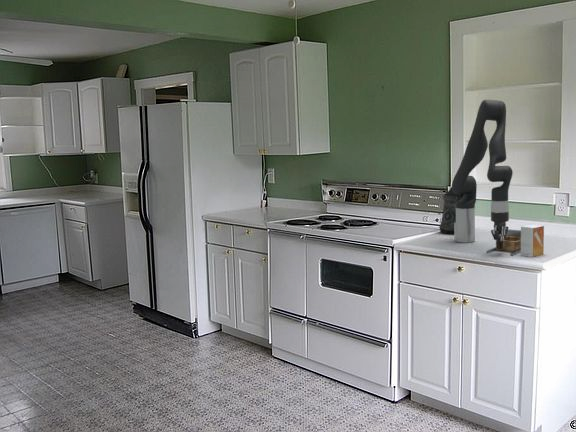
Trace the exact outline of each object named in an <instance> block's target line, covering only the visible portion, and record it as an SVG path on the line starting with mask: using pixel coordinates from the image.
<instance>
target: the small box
mask: <svg viewBox="0 0 576 432" xmlns="http://www.w3.org/2000/svg"><path fill="white" fill-rule="evenodd" d="M520 230H521V253H520V256H524V257H530V258H535V257H538V256H542V255H544V248H545V246H544V241H545V240H544V239H545V235H544V234H545V226H544V225H542V224H541V225H540V224H527V225H523V226H520Z"/></svg>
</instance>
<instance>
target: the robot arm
mask: <svg viewBox="0 0 576 432" xmlns="http://www.w3.org/2000/svg"><path fill="white" fill-rule="evenodd" d="M487 121H492V122H493V121H495V123H496V127H495V130H494V133H493V134H492V136H491V138H490V140H489V142H488V139H487V136H486V133H485V124H486V122H487ZM506 121H507V106H506V103H505V102H504V101H503V100H497V99H484V100H482V101H481V103H480V105H479V107H478V110H477V114H476V118H475V122H474V125H473V129H472V132H471V135H470V137H469V139H468V142H467V145H466V148H465V151H464V154H463V156H462V159H461V162H460V164H459V167H458V169H457V171H456V172H455V173H456V174H455V175H454V177H453V180H452V184H451V188H452V191H453V193H454V194H456V195H464V196H463V198H462V199H461V200H459V201H458V202H456V222H455V223H454V235H453V236H454V238H453V239H454V242H457V243H465V244H466V243H474V242H476V214H475V213H476V206H475V205H476V202H477V186H478V184H477V180H476V178H475V177H474V176H473V175H470V173H471V172H472V171H473V170H474V169H475V168H476V167H477V166H478V165H479V164H480V163H481V162H482V161H483V160H484V158H485V155H486V152H487V151H488V154H489V163H488V164H489V165H488V169H487V172H486V174H487V175H486V176H487V180H488V181H489V182H490V183H501V182H502V184H501V185H499V186H496V187H493V188H492V189H491V201H490V221H491V222H493V229H491V230H490V233H491V235H492V238H493V240H494V241H495V242H496V241H497V249H503V240H504V238H506V235H507V231H508V229H509V226H507V223H508V222H509V221H510V220H509V219H510V215H509V214H510V213H509V212H510V211H509V210H510V207H509V205H510V204H509V190H510V189H509V188H510V184H511V181H512V178H513V172H514V171H513V169H512V168H511V166H510V165H498V164H501V163H503V162H505V161H506V160H507V151H506V150H507V149H506V138H505V137H506V127H507V125H506V124H507V122H506ZM487 149H488V150H487Z"/></svg>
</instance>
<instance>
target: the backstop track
mask: <svg viewBox="0 0 576 432" xmlns="http://www.w3.org/2000/svg"><path fill="white" fill-rule="evenodd" d="M506 236H513V237H521V229H509V228H508V231H507V235H506ZM495 251H496V246H495V247H493V248H490V249H487V250H486V252H485V253H486V254H490V253H492V252H495ZM509 253H510V254H509V255H510V256H509V257H514V256H517V255H519V254H521V249H520V250H518V251H515V252H509Z"/></svg>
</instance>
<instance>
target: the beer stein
mask: <svg viewBox="0 0 576 432" xmlns="http://www.w3.org/2000/svg"><path fill="white" fill-rule="evenodd" d="M463 196H464V195H456V194H454V193H453V191H452V187H450V189H449V190H448V191H447V192H445V193H444V194H443V196H442V199H443V208H442V209H443V210H442V216H441V221H440V224H439V228H438V229H439V231H440V232H439V233H440V234H442V235H446V236H447V235H448V236H454V223H455V222H456V202H458V201H459V200H461V199H462V198H463Z"/></svg>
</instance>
